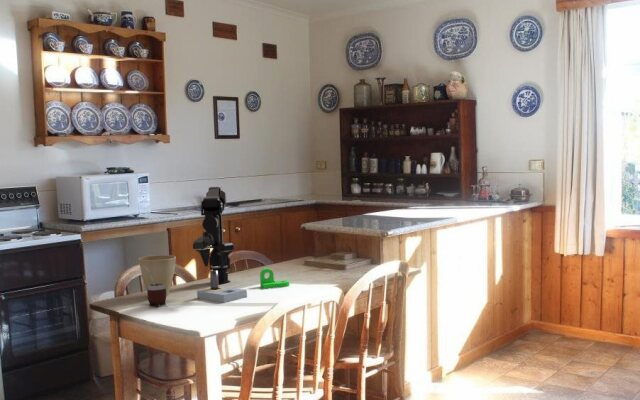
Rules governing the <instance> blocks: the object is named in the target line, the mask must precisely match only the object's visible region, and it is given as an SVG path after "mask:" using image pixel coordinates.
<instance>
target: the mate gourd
mask: <svg viewBox="0 0 640 400" xmlns="http://www.w3.org/2000/svg"><path fill="white" fill-rule="evenodd" d="M144 268H145V269H146V270H147V271H148V272H149V275H150V277H151V280H152V283H153V284H151V285H149V287H148V291H147V290H146V291H147V292H146V293H147V300H148V307H156V308H159V307H160V306H166V305H167V303H166V299H167V296H166V289H165V286H164V285H163V284H154V281H153V278H152V275H151V272H150V271H149V270H148V269H147V268H146V267H145V266H144Z"/></svg>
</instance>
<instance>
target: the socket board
mask: <svg viewBox="0 0 640 400" xmlns="http://www.w3.org/2000/svg"><path fill="white" fill-rule="evenodd" d="M247 293H248V290H247V289H245V288H238V287H230V286H223V285H219V289H218V290H211V287H207V288H202V289H200V290H196V294H197V295H196V298H197V299H200V300H205V301H211V302H217V303H222V304H225V303H226V304H227V303H229V302H233V301H237V300H241V299H245V298H247V297H248V294H247Z"/></svg>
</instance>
